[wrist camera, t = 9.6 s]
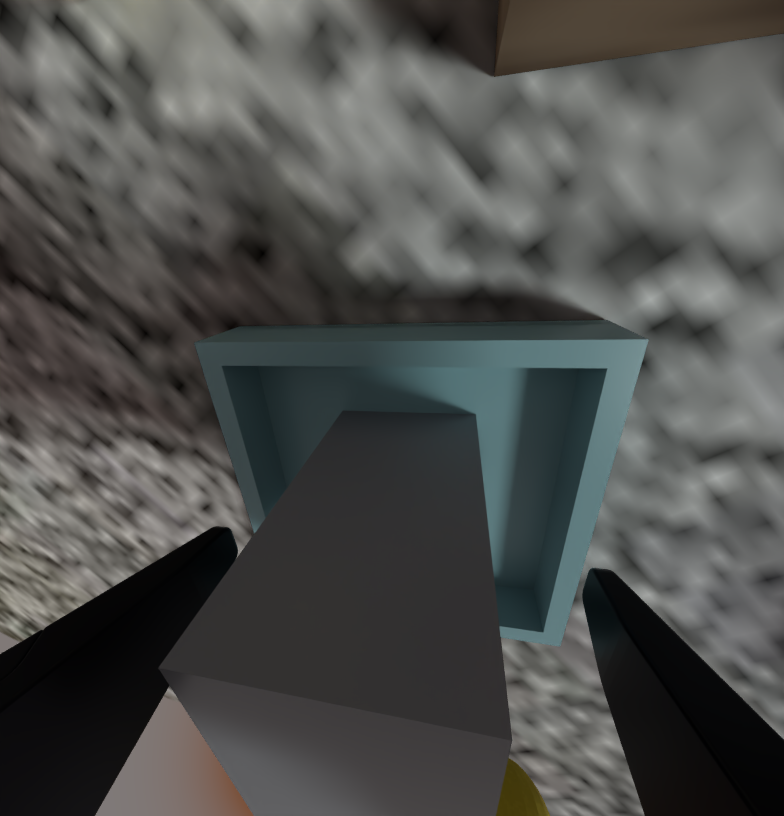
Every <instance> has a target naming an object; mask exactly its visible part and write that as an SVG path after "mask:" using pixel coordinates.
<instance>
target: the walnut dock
mask: <svg viewBox="0 0 784 816" xmlns="http://www.w3.org/2000/svg"><path fill="white" fill-rule="evenodd" d="M782 33H784V0H499V6H498V22H497V38H496V54H495V70H494V77H496V76H502V75H509V74H516V73H522V72H529V71H536V70H542V69H549V68H556V67H562V66H569V65H576V64H582V63H589V62H595V61H602V60H609V59H615V58H622V57H629V56H635V55H642V54H649V53H655V52H662V51H669V50H675V49H682V48H689V47H695V46H702V45H709V44H715V43H722V42H729V41H735V40H742V39H749V38H755V37H762V36H769V35H775V34H782Z"/></svg>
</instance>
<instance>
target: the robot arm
mask: <svg viewBox="0 0 784 816" xmlns="http://www.w3.org/2000/svg"><path fill="white" fill-rule="evenodd" d="M237 554H238V548H237V545H236V542H235V539H234V536H233V534H232V531H231V529H229V528H228V527H219V526H216V527H212V528H211V529H209V530H207V531H206V532H204V533H202V534H201V535H199V536H197V537H196V538H194V539H192V540H191V541H189V542H187V543H186V544H184V545H182V546H181V547H179V548H177V549H176V550H174V551H172V552H170V553H169V554H167V555H165V556H164V557H162V558H160V559H159V560H157V561H155V562H154V563H152V564H150V565H149V566H147V567H145V568H144V569H142V570H140V571H139V572H137V573H135V574H134V575H132V576H130V577H129V578H127V579H125V580H124V581H122V582H120V583H119V584H117V585H115V586H114V587H112V588H110V589H109V590H107V591H105V592H104V593H102V594H100V595H99V596H97V597H95V598H94V599H92V600H90V601H89V602H87V603H85V604H84V605H82V606H80V607H79V608H77V609H75V610H74V611H72V612H70V613H69V614H67V615H65V616H64V617H62V618H60V619H59V620H57V621H55V622H54V623H52V624H50V625H49V626H47V627H46V628H45V629H44V630H40V631H38V632H37V633H35V634H33V635H32V636H30V637H28V638H27V639H25V640H23V641H22V642H20V643H18V644H17V645H15V646H13V647H12V648H10V649H8V650H6V651H5V652H3V653H1V654H0V816H95V815H96V813H97V811H98V809H99V807H100V806H101V804H102V802H103V801H104V799H105V797H106V795H107V794H108V792H109V790H110V788H111V787H112V785H113V783H114V781H115V780H116V778H117V776H118V774H119V773H120V771H121V769H122V767H123V766H124V764H125V762H126V760H127V758H128V757H129V755H130V753H131V752H132V750H133V748H134V747H135V745H136V743H137V741H138V740H139V738H140V736H141V734H142V733H143V731H144V729H145V727H146V726H147V724H148V722H149V720H150V719H151V717H152V715H153V713H154V712H155V710H156V708H157V706H158V705H159V703H160V701H161V699H162V698H163V696H164V694H165V692H166V691H167V689H168V687H169V684H168V682H167V681H166V679H165V678H164V676H163V674H162V673H161V671H160V670H159V666H160V665H161V663H162V662H163V661H164V659H165V658H166V656H167V655H168V654H169V652H170V651H171V650H172V648H173V647H174V645H175V644H176V643H177V641H178V640H179V638H180V637H181V636H182V634H183V633H184V631H185V630H186V629H187V627H188V626H189V624H190V623H191V622H192V620H193V619H194V617H195V616H196V615H197V613H198V612H199V610H200V609H201V608H202V606H203V605H204V603H205V602H206V601H207V599H208V598H209V596H210V595H211V594H212V592H213V591H214V589H215V588H216V587H217V585H218V584H219V582H220V581H221V580H222V578H223V577H224V576H225V574H226V573H227V571H228V570H229V569H230V567H231V566H232V564H233V563H234V562H235V560H236V558H237ZM582 597H583V604H584V609H585V613H586V618H587V622H588V627H589V631H590V635H591V640H592V644H593V649H594V653H595V658H596V662H597V666H598V671H599V675H600V679H601V683H602V686H603V689H604V692H605V696H606V699H607V702H608V705H609V708H610V711H611V714H612V717H613V720H614V723H615V726H616V729H617V732H618V735H619V738H620V741H621V744H622V747H623V751H624V754H625V757H626V760H627V763H628V766H629V769H630V772H631V775H632V778H633V781H634V784H635V787H636V790H637V793H638V796H639V799H640V802H641V805H642V808H643V811H644V814H645V816H784V739H783V738H782V737H781V736H780V735H779V734H778V733H777V732H776V731H775V730H774V729H772V728H771V727H770V726H769V725H768V724H767V723H766V722H765V721H764V720H763V719H762V718H761V717H760V716H759V715H758V714H757V713H756V712H755V711H754V710H753V709H752V708H751V707H750V706H749V705H748V704H747V703H746V702H745V701H744V700H743V699H742V698H741V697H740V696H739V695H738V694H737V693H736V692H735V691H734V690H733V689H732V688H731V687H730V686H729V685H728V684H727V683H726V682H725V681H724V680H723V679H722V678H721V677H720V676H719V675H718V674H717V673H716V672H715V671H714V670H713V669H712V668H711V667H710V666H709V665H708V664H707V663H706V662H705V661H704V660H703V659H702V658H701V657H700V656H699V655H698V654H697V653H695V652H694V651H693V650H692V649H691V648H690V647H689V646H688V645H687V644H686V643H685V642H684V641H683V640H682V639H681V638H680V637H679V636H678V635H677V634H676V633H675V632H674V631H673V630H672V629H671V628H670V627H669V626H668V625H667V624H666V623H665V622H664V621H663V620H662V619H661V618H660V617H659V616H658V615H657V614H656V613H655V612H654V611H653V610H652V609H651V608H650V607H649V606H648V605H647V604H646V603H645V602H644V601H643V600H642V599H641V598H640V597H639V596H638V595H637V594H636V593H635V592H634V591H633V590H632V589H631V588H630V587H629V586H628V585H627V584H626V583H625V582H624V581H623V580H622V579H621V578H619V577H618V576H617V575H616V574H615V573H614V572H613V571H611V570H608V569H599V568H591V569H590V570H589V572H588V575H587V579H586V582H585V585H584V589H583V594H582Z"/></svg>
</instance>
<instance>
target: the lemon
mask: <svg viewBox="0 0 784 816" xmlns="http://www.w3.org/2000/svg"><path fill="white" fill-rule="evenodd" d="M496 816H550V815H549V812H548V810H547V807H546V805H545V802H544V800H543V798H542V797H541V795H540V793H539V791H538V789H537V788H536V786H535V785H534V783H533V782H532V780H531V779H530V778H529V776H528V775H527V774H526V773H525V772H524V770H523V769H522V768H521V767H520V766H519V765H518V764H517V763H515V762H514V761H513V760H511V759H509V758H508V762H507V767H506V771H505V776H504V780H503V785H502V790H501V794H500V799H499V803H498V808H497V813H496Z"/></svg>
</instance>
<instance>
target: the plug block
mask: <svg viewBox="0 0 784 816" xmlns="http://www.w3.org/2000/svg"><path fill="white" fill-rule="evenodd" d="M159 670H160V671H161V673H162V674H163V676H164V678H165V679H166V681H167V682H168V684H169V685H170V687H171V688H172V690H173V691H174V693H175V694H176V696H177V698H178V699H179V701H180V702H181V704H182V705H183V707H184V708H185V710H186V711H187V713H188V715H189V716H190V718H191V719H192V721H193V722H194V724H195V725H196V727H197V728H198V730H199V731H200V733H201V735H202V736H203V738H204V739H205V741H206V742H207V744H208V745H209V747H210V748H211V750H212V752H213V753H214V755H215V756H216V758H217V759H218V761H219V762H220V764H221V765H222V767H223V768H224V770H225V772H226V773H227V774H228V776H229V778H230V779H231V781H232V782H233V784H234V785H235V787H236V788H237V790H238V792H239V793H240V795H241V796H242V798H243V799H244V801H245V802H246V804H247V805H248V807H249V809H250V810H251V812H252V813H253V815H254V816H496V813H497V808H498V803H499V799H500V794H501V790H502V785H503V780H504V776H505V771H506V767H507V762H508V757H509V753H510V748H511V744H512V735H511V726H510V717H509V708H508V699H507V690H506V681H505V672H504V663H503V654H502V645H501V636H500V627H499V618H498V609H497V600H496V591H495V582H494V573H493V564H492V555H491V546H490V537H489V528H488V519H487V510H486V501H485V492H484V483H483V474H482V465H481V456H480V447H479V438H478V429H477V420H476V414H447V413H412V412H377V411H342V412H341V414H340V415H339V416H338V418H337V419H336V421H335V422H334V423H333V425H332V426H331V427H330V429H329V430H328V432H327V433H326V434H325V436H324V437H323V439H322V440H321V441H320V443H319V444H318V446H317V447H316V448H315V450H314V451H313V453H312V454H311V455H310V457H309V458H308V460H307V461H306V462H305V464H304V465H303V467H302V468H301V469H300V471H299V472H298V474H297V475H296V476H295V478H294V479H293V481H292V482H291V483H290V485H289V486H288V488H287V489H286V490H285V492H284V493H283V495H282V496H281V497H280V499H279V500H278V502H277V503H276V504H275V506H274V507H273V508H272V510H271V511H270V513H269V514H268V515H267V517H266V518H265V520H264V521H263V522H262V524H261V525H260V527H259V528H258V529H257V531H256V532H255V534H254V535H253V536H252V538H251V539H250V541H249V542H248V543H247V545H246V546H245V548H244V549H243V550H242V552H241V553H240V555H239V556H238V557H237V559H236V560H235V562H234V563H233V564H232V566H231V567H230V569H229V570H228V571H227V573H226V574H225V576H224V577H223V578H222V580H221V581H220V582H219V584H218V585H217V587H216V588H215V589H214V591H213V592H212V594H211V595H210V596H209V598H208V599H207V601H206V602H205V603H204V605H203V606H202V608H201V609H200V610H199V612H198V613H197V615H196V616H195V617H194V619H193V620H192V622H191V623H190V624H189V626H188V627H187V629H186V630H185V631H184V633H183V634H182V636H181V637H180V638H179V640H178V641H177V643H176V644H175V645H174V647H173V648H172V650H171V651H170V652H169V654H168V655H167V656H166V658H165V659H164V661H163V662H162V663H161V665H160V666H159Z"/></svg>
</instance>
